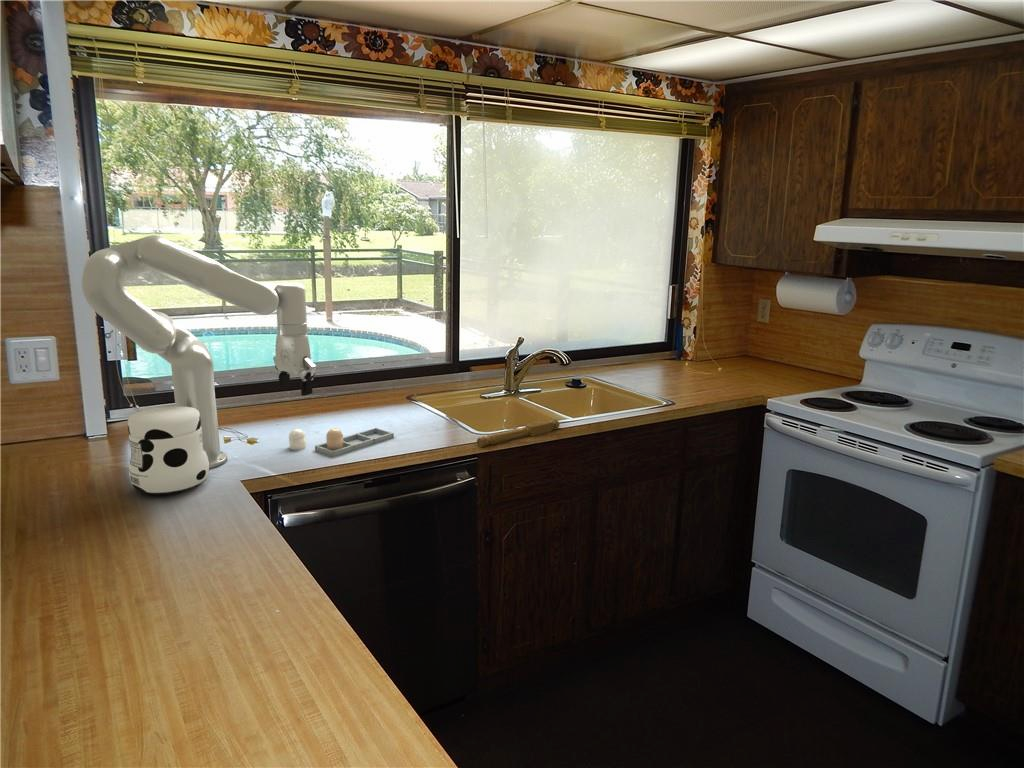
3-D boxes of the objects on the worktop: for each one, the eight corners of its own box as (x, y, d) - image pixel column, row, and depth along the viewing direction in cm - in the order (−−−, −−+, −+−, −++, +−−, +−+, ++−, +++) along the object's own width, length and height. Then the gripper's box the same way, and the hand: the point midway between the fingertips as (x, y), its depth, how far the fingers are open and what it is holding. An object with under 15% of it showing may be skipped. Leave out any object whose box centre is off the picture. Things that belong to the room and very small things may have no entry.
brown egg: (333, 454, 194) (332, 432, 193) (323, 450, 197) (322, 428, 195) (346, 450, 197) (345, 428, 196) (336, 446, 200) (335, 425, 199)
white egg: (296, 454, 197) (294, 432, 195) (286, 450, 199) (285, 429, 198) (309, 450, 200) (308, 428, 198) (300, 446, 203) (298, 425, 201)
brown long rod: (476, 436, 205) (554, 417, 223) (476, 446, 206) (554, 427, 224) (482, 439, 203) (561, 420, 221) (482, 449, 204) (561, 429, 222)
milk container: (221, 473, 182) (214, 404, 178) (194, 501, 166) (186, 426, 161) (151, 473, 182) (143, 404, 177) (117, 501, 165) (107, 426, 161)
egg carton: (332, 461, 191) (331, 453, 191) (311, 454, 197) (311, 446, 196) (397, 440, 209) (397, 432, 208) (376, 434, 214) (376, 426, 214)
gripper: (261, 327, 195) (265, 388, 199) (300, 335, 184) (304, 400, 189) (284, 324, 200) (288, 383, 204) (324, 331, 190) (327, 394, 194)
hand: (295, 391), depth 196 cm, fingers open, 9 cm apart
